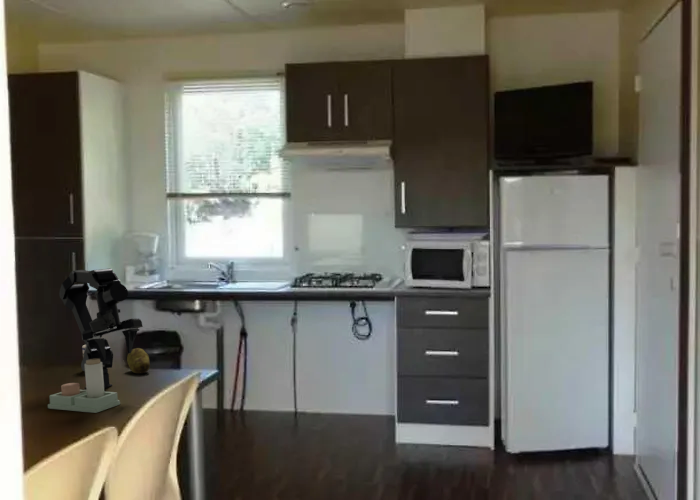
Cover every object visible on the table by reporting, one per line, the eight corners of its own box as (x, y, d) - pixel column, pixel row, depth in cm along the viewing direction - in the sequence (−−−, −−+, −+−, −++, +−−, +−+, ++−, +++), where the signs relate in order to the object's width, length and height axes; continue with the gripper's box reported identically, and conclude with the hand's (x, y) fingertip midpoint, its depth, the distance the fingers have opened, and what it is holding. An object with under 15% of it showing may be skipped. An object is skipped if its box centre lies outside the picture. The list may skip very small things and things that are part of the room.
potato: (125, 376, 284) (123, 353, 283) (128, 369, 296) (127, 347, 296) (150, 374, 285) (148, 351, 285) (152, 367, 298) (150, 345, 297)
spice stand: (48, 408, 243) (46, 387, 243) (73, 400, 252) (71, 380, 252) (95, 412, 235) (94, 391, 234) (120, 404, 243) (118, 383, 243)
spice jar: (85, 403, 242) (81, 360, 241) (101, 400, 244) (98, 357, 244) (91, 406, 238) (87, 362, 237) (107, 403, 240) (104, 359, 240)
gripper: (67, 314, 252) (76, 364, 250) (119, 300, 247) (128, 351, 245) (88, 314, 262) (96, 362, 260) (138, 301, 258) (147, 349, 256)
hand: (116, 356), depth 255 cm, fingers open, 9 cm apart
